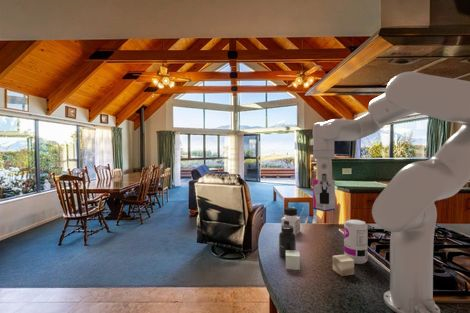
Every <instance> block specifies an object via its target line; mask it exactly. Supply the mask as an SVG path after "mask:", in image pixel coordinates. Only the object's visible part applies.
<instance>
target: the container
mask: <svg viewBox="0 0 470 313" xmlns="http://www.w3.org/2000/svg"><path fill="white" fill-rule="evenodd" d="M283 210H284V212H283V214H284V216H283V217H281V219H280V222H281V223H280V224H281V226H280V228H281V229H282V226H283V225H291V226H293V230H294V232H293V233H294V234H295V235H296V236H297V234H299V233H300V232H301V217H300V216H298V208H296V207H293V206H287V207H285V208H284V209H283ZM281 232H282V231H281ZM281 232H280V233H281Z"/></svg>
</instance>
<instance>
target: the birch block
mask: <svg viewBox="0 0 470 313" xmlns="http://www.w3.org/2000/svg"><path fill="white" fill-rule="evenodd" d="M332 270H333V271H334V272H335V273H336V274H338V275H339V276H341V277H344V276H345V277H346V276H350V275H351V276H352V275H355V263H354V260H353V259H351V258H350V257H348V256H347V255H345V254H344V253H343V254H338V255H337V254H336V255H332Z"/></svg>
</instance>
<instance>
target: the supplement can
mask: <svg viewBox="0 0 470 313" xmlns="http://www.w3.org/2000/svg"><path fill="white" fill-rule="evenodd" d="M344 254H345V255H347V256H348V257H350V258H351V259H353V260H354V265H355V264H356V265H362V264H363V265H364V264H365V263H366V262H367V261H368V225H367V224H366V221H364V220H360V219H351V218H350V219H346V220H345V222H344V224H343V255H344Z"/></svg>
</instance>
